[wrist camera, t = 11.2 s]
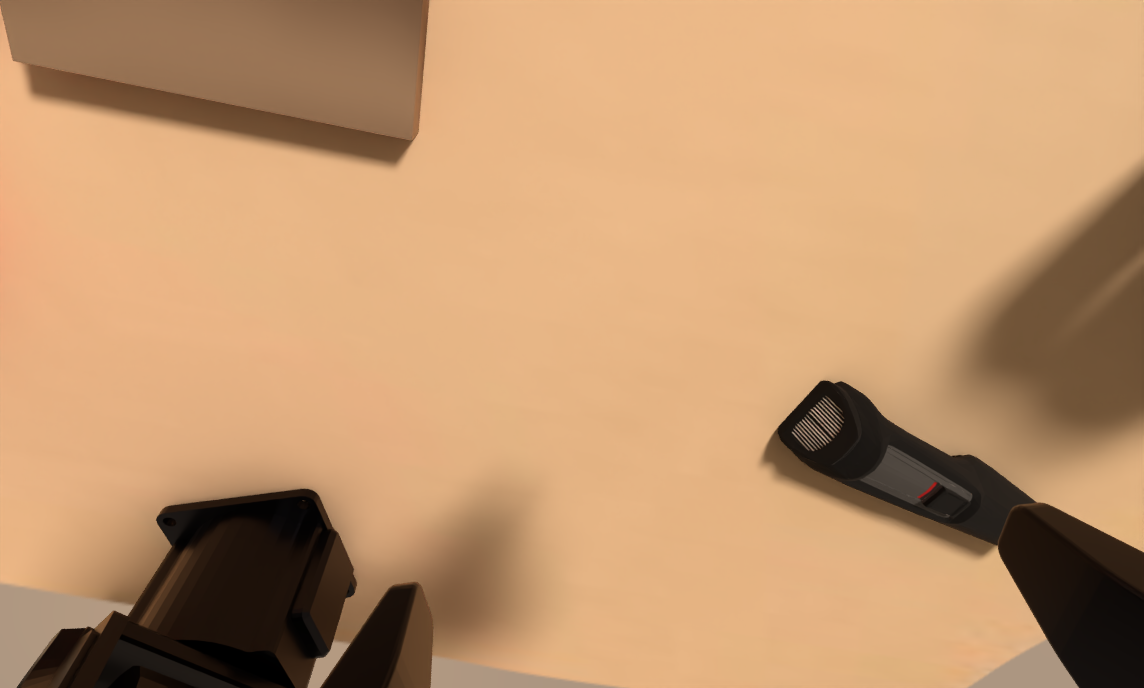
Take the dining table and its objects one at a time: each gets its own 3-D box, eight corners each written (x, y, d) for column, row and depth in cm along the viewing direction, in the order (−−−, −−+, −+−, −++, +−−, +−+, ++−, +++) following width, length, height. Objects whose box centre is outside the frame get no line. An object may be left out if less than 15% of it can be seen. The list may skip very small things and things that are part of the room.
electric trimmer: (988, 539, 30) (1035, 593, 28) (766, 431, 25) (797, 483, 22) (1049, 491, 29) (1105, 543, 26) (826, 366, 24) (868, 413, 21)
